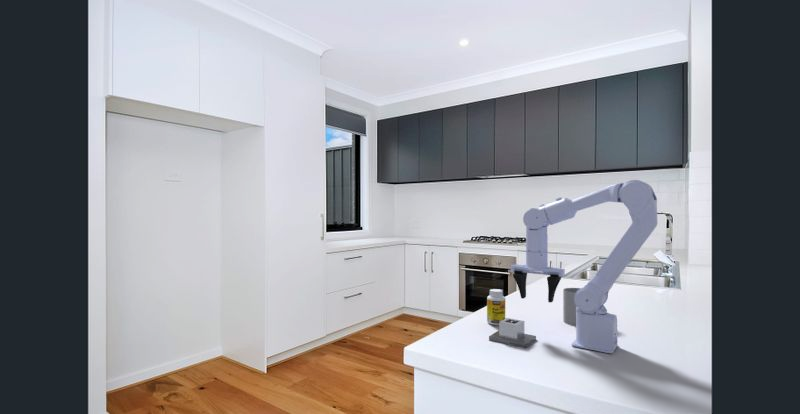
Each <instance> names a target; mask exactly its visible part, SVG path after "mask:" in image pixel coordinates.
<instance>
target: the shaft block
mask: <svg viewBox="0 0 800 414" xmlns="http://www.w3.org/2000/svg"><path fill="white" fill-rule="evenodd" d="M509 323H514V324H515V323H516V321H512V320H511V321H509ZM488 340H489V341H491V342H496V343H502V344H505V345H506V344H507V345H511V346H515V347H520V348H525V349H526V348H527V347H529V346H530V345H532V343H534V342H535V341H536V340H537V335H534V334H528V333H524V336H523V337H522V338H520V339H519V340H512V339H507V338H503V337H499V330H498V331H497V330H496V331H495V332H493V333H492V334H490V335H489V336H488Z"/></svg>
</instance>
